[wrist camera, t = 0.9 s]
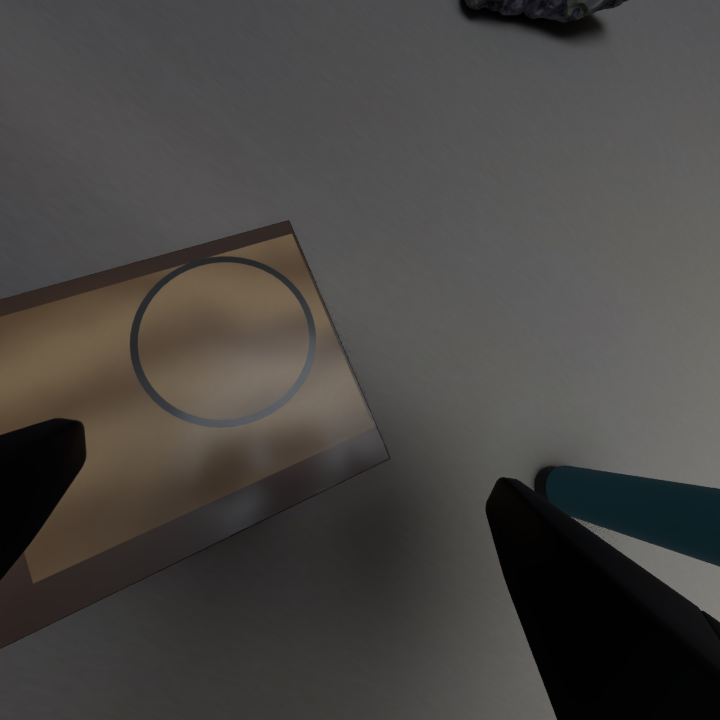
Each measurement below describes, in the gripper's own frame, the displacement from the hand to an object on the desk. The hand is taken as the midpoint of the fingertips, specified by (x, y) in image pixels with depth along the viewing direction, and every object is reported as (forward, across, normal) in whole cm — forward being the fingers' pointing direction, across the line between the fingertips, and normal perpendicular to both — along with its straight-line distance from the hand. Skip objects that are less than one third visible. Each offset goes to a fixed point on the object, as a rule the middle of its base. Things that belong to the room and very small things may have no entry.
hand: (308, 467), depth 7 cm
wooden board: (+11, +7, +6) cm, 14 cm away
